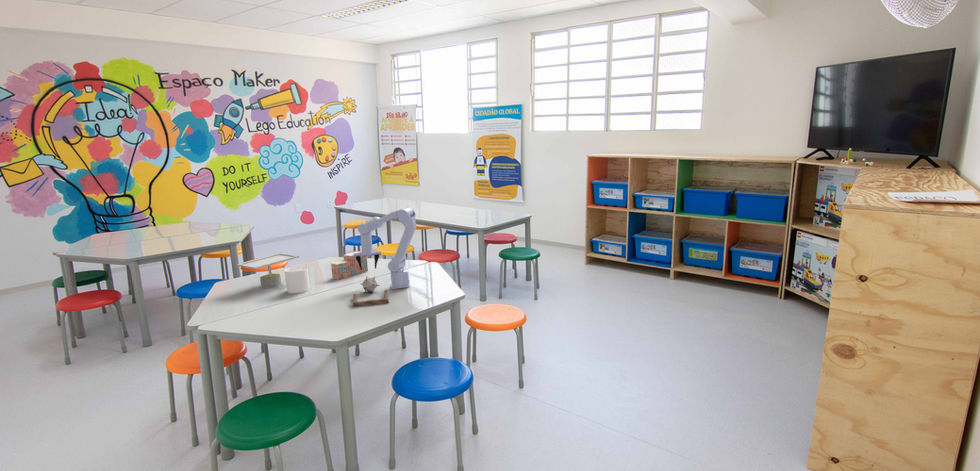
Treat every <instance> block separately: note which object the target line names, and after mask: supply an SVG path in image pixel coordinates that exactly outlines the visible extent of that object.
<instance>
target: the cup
mask: <svg viewBox="0 0 980 471" xmlns="http://www.w3.org/2000/svg"><path fill="white" fill-rule="evenodd" d="M283 272H284V278H285V279H284V280H285V288H286V292H287V293H288V294H294V295H295V294H302V293H305V292H308V291H309V290H310V289H311V287H310V277H309V270H308V267H307V266H305V265H300V266H299V265H298V266H292V267H286V268H285V269H284V271H283Z"/></svg>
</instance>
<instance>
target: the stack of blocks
mask: <svg viewBox="0 0 980 471" xmlns="http://www.w3.org/2000/svg"><path fill="white" fill-rule="evenodd" d="M359 252H362V250H359V251H352V252H350V253H346V254H343V260H338V261H333V262H330V265H331V275H332V279H334V280H335V279H336V280H342V279H346V278H349V277H352V276H356V275H360V274H363V273H365V271H366V272H368V271H369V269H368V268H369V267H368V256H361V266H362V270H361V269H360V266H359V263H358V261H357V260H356V257H354V254H353V253H359ZM362 272H363V273H362ZM359 273H360V274H359Z"/></svg>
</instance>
